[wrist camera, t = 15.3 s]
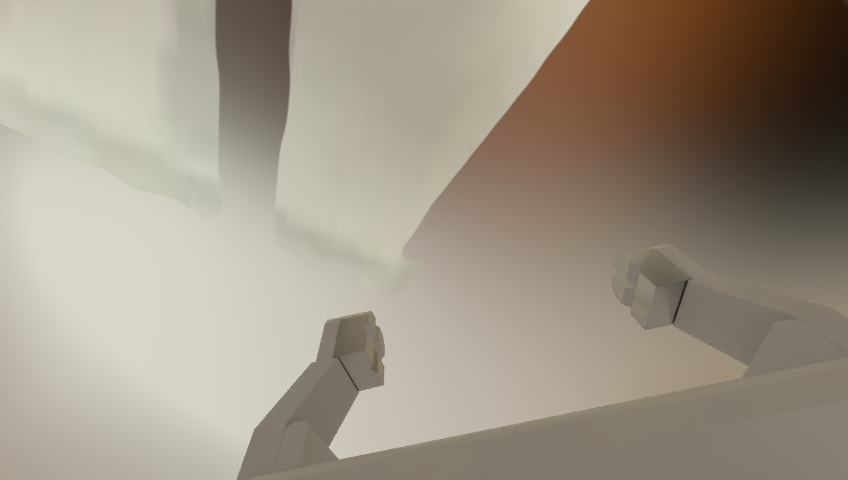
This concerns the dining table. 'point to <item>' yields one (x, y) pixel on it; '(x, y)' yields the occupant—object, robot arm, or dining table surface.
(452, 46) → the dining table surface
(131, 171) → the dining table surface
